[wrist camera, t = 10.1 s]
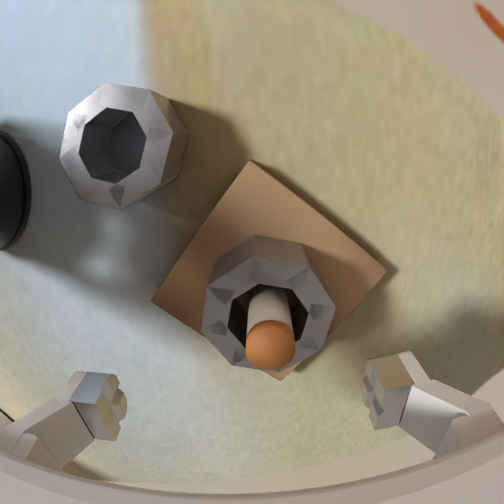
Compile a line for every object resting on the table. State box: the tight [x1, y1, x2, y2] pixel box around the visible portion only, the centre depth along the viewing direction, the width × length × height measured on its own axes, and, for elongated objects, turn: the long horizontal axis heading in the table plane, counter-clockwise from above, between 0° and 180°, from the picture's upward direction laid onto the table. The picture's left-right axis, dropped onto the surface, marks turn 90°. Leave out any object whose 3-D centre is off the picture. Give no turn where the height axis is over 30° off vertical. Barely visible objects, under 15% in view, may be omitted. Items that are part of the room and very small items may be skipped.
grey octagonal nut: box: [201, 234, 336, 372], centre depth 16 cm, size 6×6×4 cm
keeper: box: [151, 160, 387, 381], centre depth 16 cm, size 10×10×8 cm
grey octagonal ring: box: [59, 83, 190, 210], centre depth 15 cm, size 6×6×4 cm
